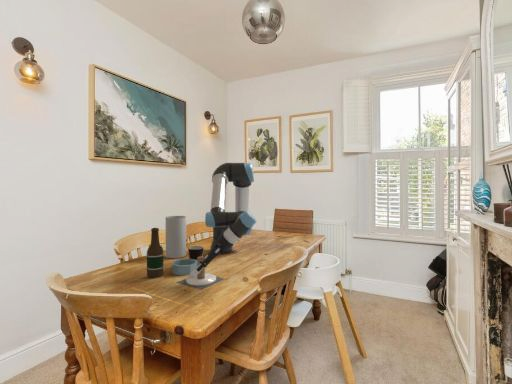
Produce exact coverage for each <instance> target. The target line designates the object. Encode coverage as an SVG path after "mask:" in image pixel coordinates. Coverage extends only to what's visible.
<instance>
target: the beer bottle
mask: <svg viewBox="0 0 512 384" xmlns="http://www.w3.org/2000/svg"><path fill="white" fill-rule="evenodd" d="M150 231H151V235H150V237H151V238H150V245H149V246H148V248H147V250H146V277H147V278H148V279H151V280H152V279H158V278H162V277H163V276H164V273H165V272H164V270H165V269H164V264H165V263H164V248H163V246H162V245H161V243H160V235H159V231H160V229H159V228H158V227H153V228H151V229H150Z"/></svg>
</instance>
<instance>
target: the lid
mask: <svg viewBox="0 0 512 384" xmlns="http://www.w3.org/2000/svg"><path fill="white" fill-rule="evenodd" d="M205 257H206V256H200V257H197V266H198V265H199V264H200V261H201V262H203V261H204V260H205ZM216 277H217V276H216V275H215V274H212V273H206V267H205V268H204V269H203V270H202V271H201V272H200V273H199V274H198V275H197V276H196V277H194V276H193V275H192V274H190V275H187V277H185V279H186V283H187V284H188V285H192V286H205V285H210V284H212V283H214V282H215V281H216Z"/></svg>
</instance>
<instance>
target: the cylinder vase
mask: <svg viewBox="0 0 512 384" xmlns="http://www.w3.org/2000/svg"><path fill="white" fill-rule="evenodd" d="M186 256H187V216H186V215H169V216H166V217H165V257H166V258H167V259H181V258H184V257H186Z"/></svg>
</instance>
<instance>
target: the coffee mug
mask: <svg viewBox="0 0 512 384" xmlns="http://www.w3.org/2000/svg"><path fill="white" fill-rule="evenodd" d="M187 250H188V257H189V258H188V259H194V260H197V257H200V256H203V255H204V246H202V245H192V246H188V248H187ZM203 257H204V256H203Z"/></svg>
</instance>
